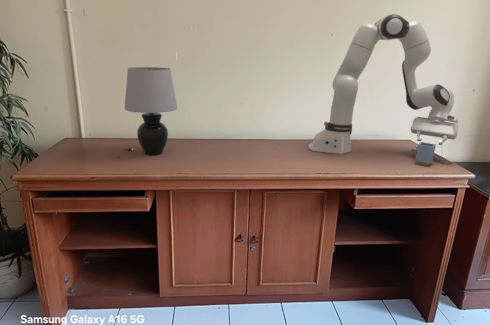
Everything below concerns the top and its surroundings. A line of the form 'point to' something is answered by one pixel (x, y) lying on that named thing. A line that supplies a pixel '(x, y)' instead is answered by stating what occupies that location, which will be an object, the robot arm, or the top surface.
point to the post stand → (422, 163)
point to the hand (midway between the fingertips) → (429, 142)
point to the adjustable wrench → (433, 156)
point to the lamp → (150, 104)
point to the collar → (425, 152)
